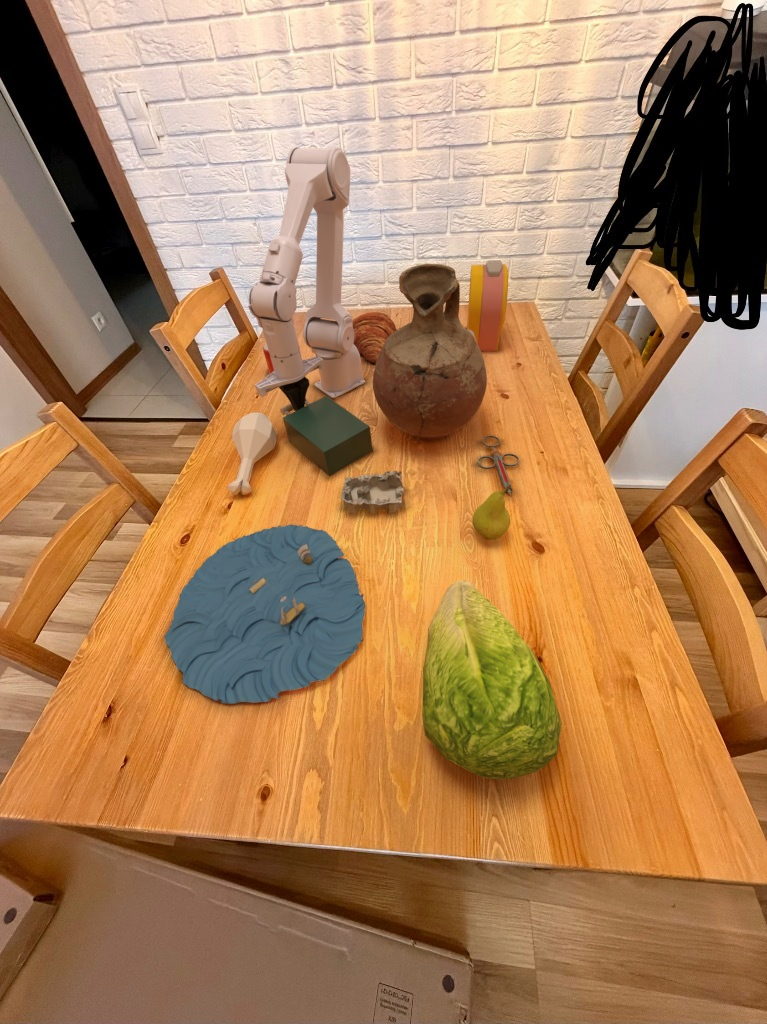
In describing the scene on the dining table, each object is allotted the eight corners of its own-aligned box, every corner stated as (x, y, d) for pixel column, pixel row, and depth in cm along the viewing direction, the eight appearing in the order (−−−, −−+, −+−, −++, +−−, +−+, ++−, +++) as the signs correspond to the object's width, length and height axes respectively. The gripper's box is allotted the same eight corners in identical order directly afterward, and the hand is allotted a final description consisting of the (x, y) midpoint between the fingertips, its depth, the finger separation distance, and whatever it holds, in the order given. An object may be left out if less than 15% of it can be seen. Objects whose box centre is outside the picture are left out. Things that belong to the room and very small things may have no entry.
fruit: (467, 523, 77) (472, 470, 68) (502, 519, 77) (511, 465, 68) (475, 550, 73) (481, 498, 64) (511, 545, 73) (523, 493, 64)
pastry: (416, 341, 119) (416, 310, 113) (377, 367, 112) (374, 336, 106) (369, 324, 128) (366, 295, 122) (329, 348, 120) (324, 318, 114)
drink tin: (284, 362, 117) (278, 337, 112) (296, 370, 114) (290, 345, 109) (265, 370, 115) (258, 345, 110) (276, 379, 112) (269, 354, 107)
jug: (360, 446, 92) (339, 294, 70) (398, 388, 105) (391, 244, 83) (466, 469, 86) (479, 309, 64) (493, 404, 99) (511, 252, 77)
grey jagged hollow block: (405, 486, 84) (404, 469, 81) (401, 517, 79) (401, 500, 76) (347, 484, 85) (345, 468, 82) (341, 514, 80) (337, 498, 77)
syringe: (489, 507, 79) (491, 500, 78) (469, 441, 91) (469, 434, 90) (534, 503, 79) (536, 496, 78) (508, 437, 91) (509, 430, 90)
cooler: (289, 441, 95) (282, 417, 91) (330, 419, 99) (326, 395, 95) (329, 476, 87) (324, 452, 83) (372, 451, 91) (369, 426, 87)
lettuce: (521, 603, 67) (511, 538, 59) (578, 786, 49) (576, 729, 40) (422, 622, 70) (398, 562, 61) (440, 803, 51) (410, 753, 43)
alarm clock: (500, 354, 112) (510, 275, 98) (466, 354, 113) (471, 276, 100) (498, 325, 122) (507, 250, 108) (467, 325, 123) (472, 251, 109)
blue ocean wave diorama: (296, 758, 56) (285, 748, 52) (131, 650, 67) (111, 634, 63) (407, 571, 71) (406, 552, 67) (258, 508, 82) (249, 489, 78)
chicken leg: (215, 500, 86) (215, 476, 79) (237, 426, 95) (239, 400, 88) (260, 509, 88) (264, 487, 81) (277, 436, 97) (282, 411, 90)
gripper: (305, 329, 91) (317, 389, 101) (240, 357, 86) (259, 417, 96) (325, 341, 87) (335, 402, 97) (258, 371, 82) (277, 432, 92)
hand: (299, 410), depth 96 cm, fingers closed
